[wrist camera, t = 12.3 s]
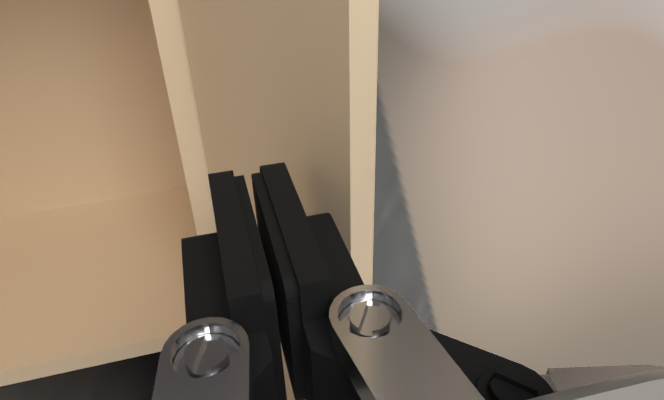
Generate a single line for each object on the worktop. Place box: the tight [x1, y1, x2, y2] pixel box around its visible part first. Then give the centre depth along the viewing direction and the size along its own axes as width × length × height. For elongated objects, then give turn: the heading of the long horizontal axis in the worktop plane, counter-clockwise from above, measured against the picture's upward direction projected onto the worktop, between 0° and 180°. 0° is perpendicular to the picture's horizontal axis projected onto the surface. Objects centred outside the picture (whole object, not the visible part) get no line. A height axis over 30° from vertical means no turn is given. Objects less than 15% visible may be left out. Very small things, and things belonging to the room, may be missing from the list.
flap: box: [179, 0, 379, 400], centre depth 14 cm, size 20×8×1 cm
